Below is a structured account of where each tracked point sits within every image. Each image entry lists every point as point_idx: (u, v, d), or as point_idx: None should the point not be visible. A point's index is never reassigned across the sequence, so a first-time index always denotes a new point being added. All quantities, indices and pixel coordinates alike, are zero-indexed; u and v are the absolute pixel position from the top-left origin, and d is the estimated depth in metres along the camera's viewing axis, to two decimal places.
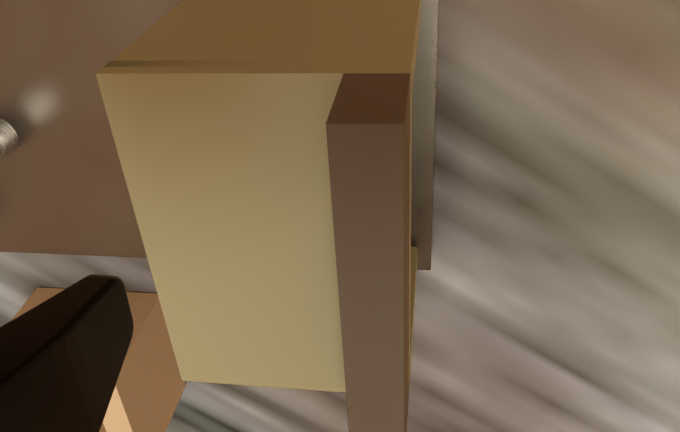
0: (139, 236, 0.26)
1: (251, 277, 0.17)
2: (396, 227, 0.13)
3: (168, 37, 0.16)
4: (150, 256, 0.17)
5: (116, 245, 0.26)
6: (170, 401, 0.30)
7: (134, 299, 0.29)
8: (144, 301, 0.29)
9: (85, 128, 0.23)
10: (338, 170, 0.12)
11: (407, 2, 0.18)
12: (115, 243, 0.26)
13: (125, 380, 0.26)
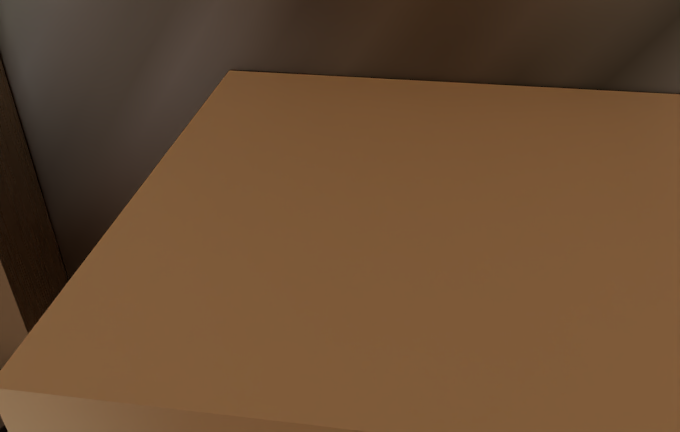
0: None
1: None
2: None
3: None
4: None
5: None
6: None
7: None
8: None
9: None
10: None
11: None
12: None
13: (168, 321, 0.04)
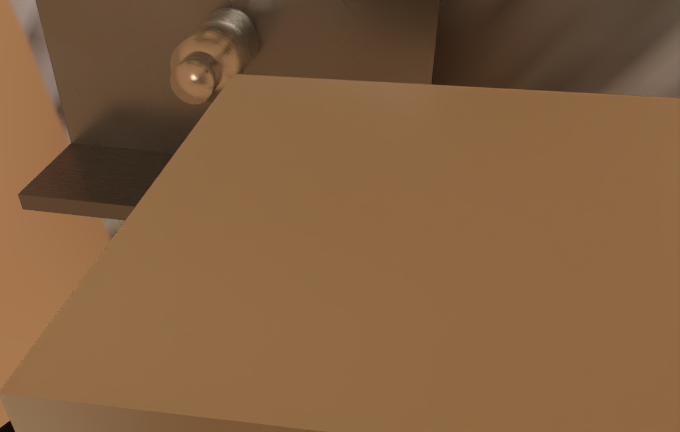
0: None
1: None
2: None
3: None
4: None
5: None
6: None
7: None
8: None
9: None
10: None
11: None
12: None
13: (176, 327, 0.04)
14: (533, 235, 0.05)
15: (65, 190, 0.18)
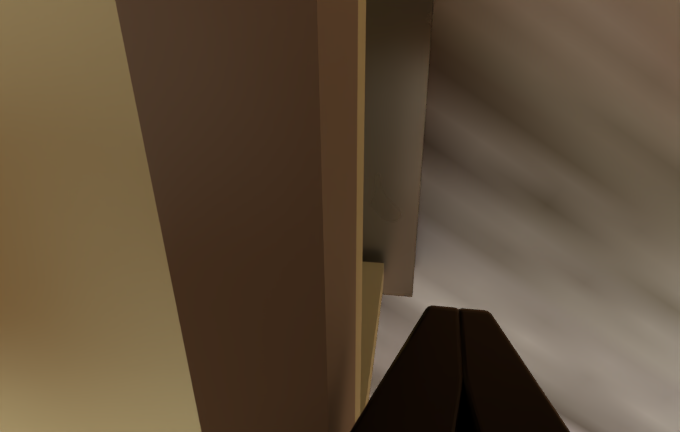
0: None
1: (80, 315, 0.10)
2: (307, 243, 0.05)
3: None
4: None
5: None
6: None
7: None
8: None
9: None
10: (156, 95, 0.05)
11: None
12: None
13: None
14: None
15: None
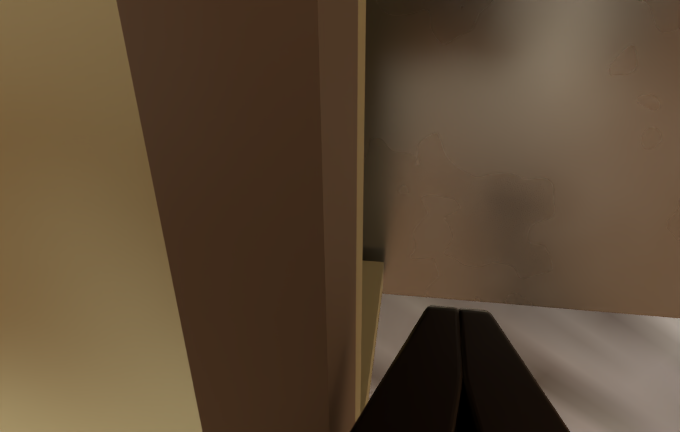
0: None
1: (81, 314, 0.10)
2: (308, 242, 0.05)
3: None
4: None
5: None
6: None
7: None
8: None
9: None
10: (156, 93, 0.05)
11: None
12: None
13: None
14: None
15: None
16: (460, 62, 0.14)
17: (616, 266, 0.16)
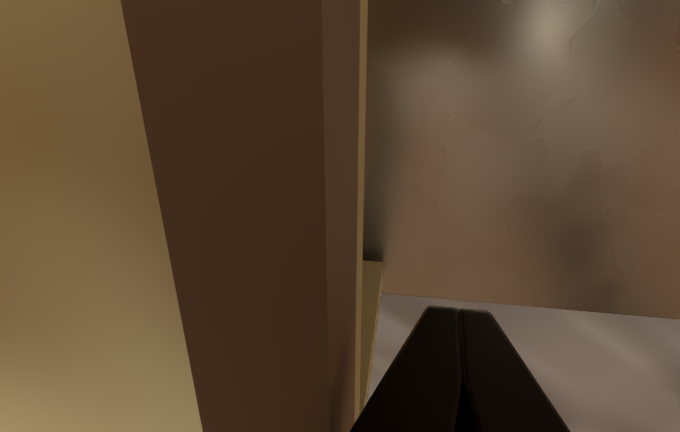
0: (420, 265, 0.17)
1: (80, 312, 0.10)
2: (311, 242, 0.05)
3: None
4: None
5: None
6: None
7: None
8: None
9: (393, 91, 0.14)
10: (160, 91, 0.05)
11: None
12: None
13: None
14: None
15: None
16: None
17: None
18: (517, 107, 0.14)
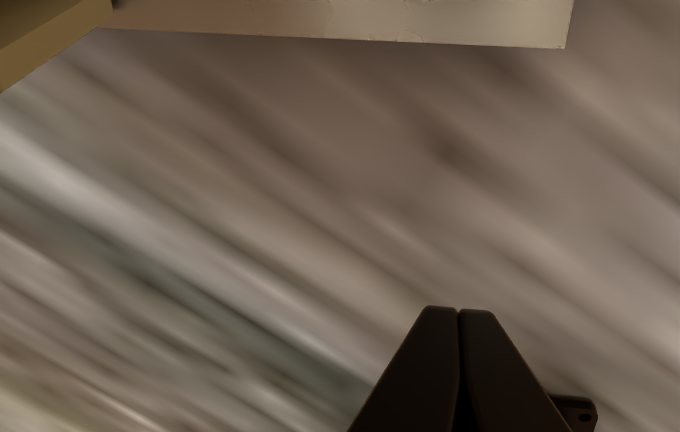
0: None
1: None
2: None
3: None
4: None
5: (114, 9, 0.18)
6: None
7: None
8: None
9: None
10: None
11: None
12: (113, 5, 0.18)
13: None
14: None
15: None
16: None
17: None
18: None
